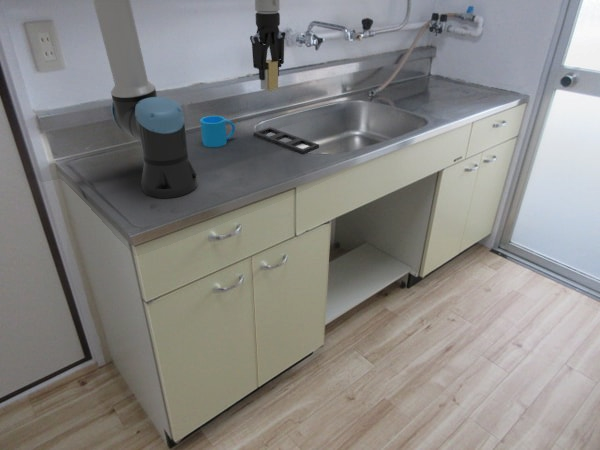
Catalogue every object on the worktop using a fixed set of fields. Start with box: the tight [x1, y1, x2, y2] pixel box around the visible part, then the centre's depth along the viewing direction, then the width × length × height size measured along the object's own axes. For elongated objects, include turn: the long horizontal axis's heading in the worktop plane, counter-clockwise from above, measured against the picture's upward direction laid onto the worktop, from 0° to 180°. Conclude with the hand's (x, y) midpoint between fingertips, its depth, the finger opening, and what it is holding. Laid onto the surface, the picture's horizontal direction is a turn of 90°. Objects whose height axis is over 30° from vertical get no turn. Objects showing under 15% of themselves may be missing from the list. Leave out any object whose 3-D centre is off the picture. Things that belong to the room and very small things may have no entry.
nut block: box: [265, 58, 279, 92], centre depth 151 cm, size 4×4×9 cm
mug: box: [199, 115, 236, 148], centre depth 155 cm, size 12×8×8 cm
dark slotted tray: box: [253, 127, 320, 155], centre depth 158 cm, size 8×24×1 cm, turn 47°
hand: (269, 87), depth 154 cm, fingers closed on nut block, 4 cm apart
